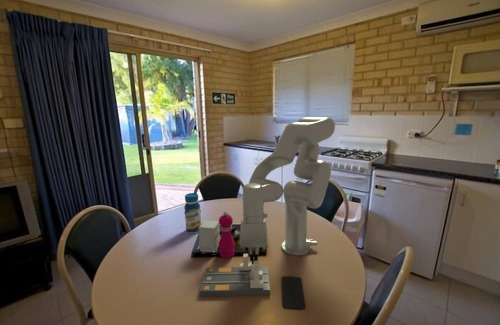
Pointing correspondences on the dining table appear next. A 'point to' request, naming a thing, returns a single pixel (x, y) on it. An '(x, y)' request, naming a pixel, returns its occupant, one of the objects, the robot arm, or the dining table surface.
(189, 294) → the dining table surface
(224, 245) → the pepper mill
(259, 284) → the front switch tab
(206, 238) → the supplement box
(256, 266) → the middle switch tab
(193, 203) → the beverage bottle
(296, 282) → the phone
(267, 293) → the switch panel
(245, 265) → the back switch tab
